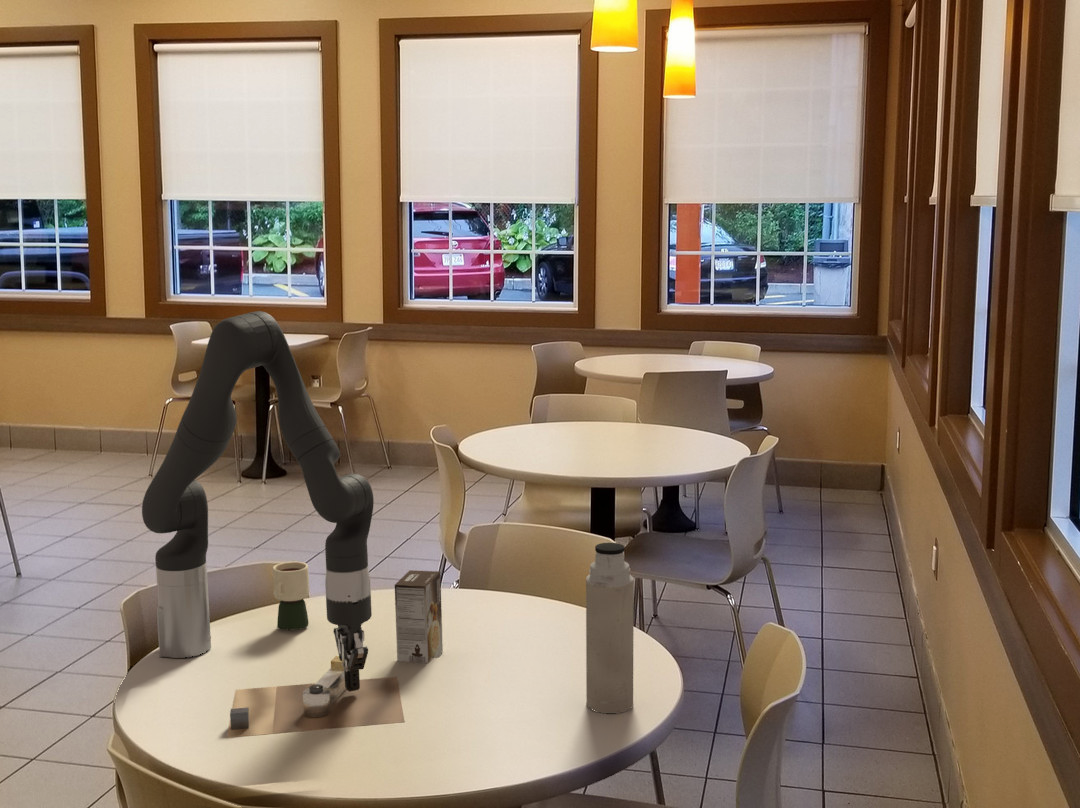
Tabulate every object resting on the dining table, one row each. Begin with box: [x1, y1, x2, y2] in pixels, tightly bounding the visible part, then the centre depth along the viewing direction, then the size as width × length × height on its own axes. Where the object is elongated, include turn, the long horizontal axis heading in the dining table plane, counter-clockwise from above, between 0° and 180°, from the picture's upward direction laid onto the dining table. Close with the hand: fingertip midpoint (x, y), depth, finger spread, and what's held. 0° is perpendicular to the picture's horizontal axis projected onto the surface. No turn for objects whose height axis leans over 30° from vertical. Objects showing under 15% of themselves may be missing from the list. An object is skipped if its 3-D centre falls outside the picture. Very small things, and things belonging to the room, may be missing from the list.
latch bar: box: [303, 655, 346, 717], centre depth 195 cm, size 15×4×5 cm, turn 169°
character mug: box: [272, 561, 310, 631], centre depth 233 cm, size 11×7×13 cm, turn 162°
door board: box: [226, 676, 405, 739], centre depth 194 cm, size 28×19×1 cm
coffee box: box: [394, 569, 444, 664], centre depth 215 cm, size 9×6×16 cm
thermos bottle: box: [585, 542, 635, 714], centre depth 194 cm, size 8×8×28 cm
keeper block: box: [229, 707, 250, 730], centre depth 185 cm, size 3×2×3 cm, turn 101°
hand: (352, 689), depth 197 cm, fingers closed
